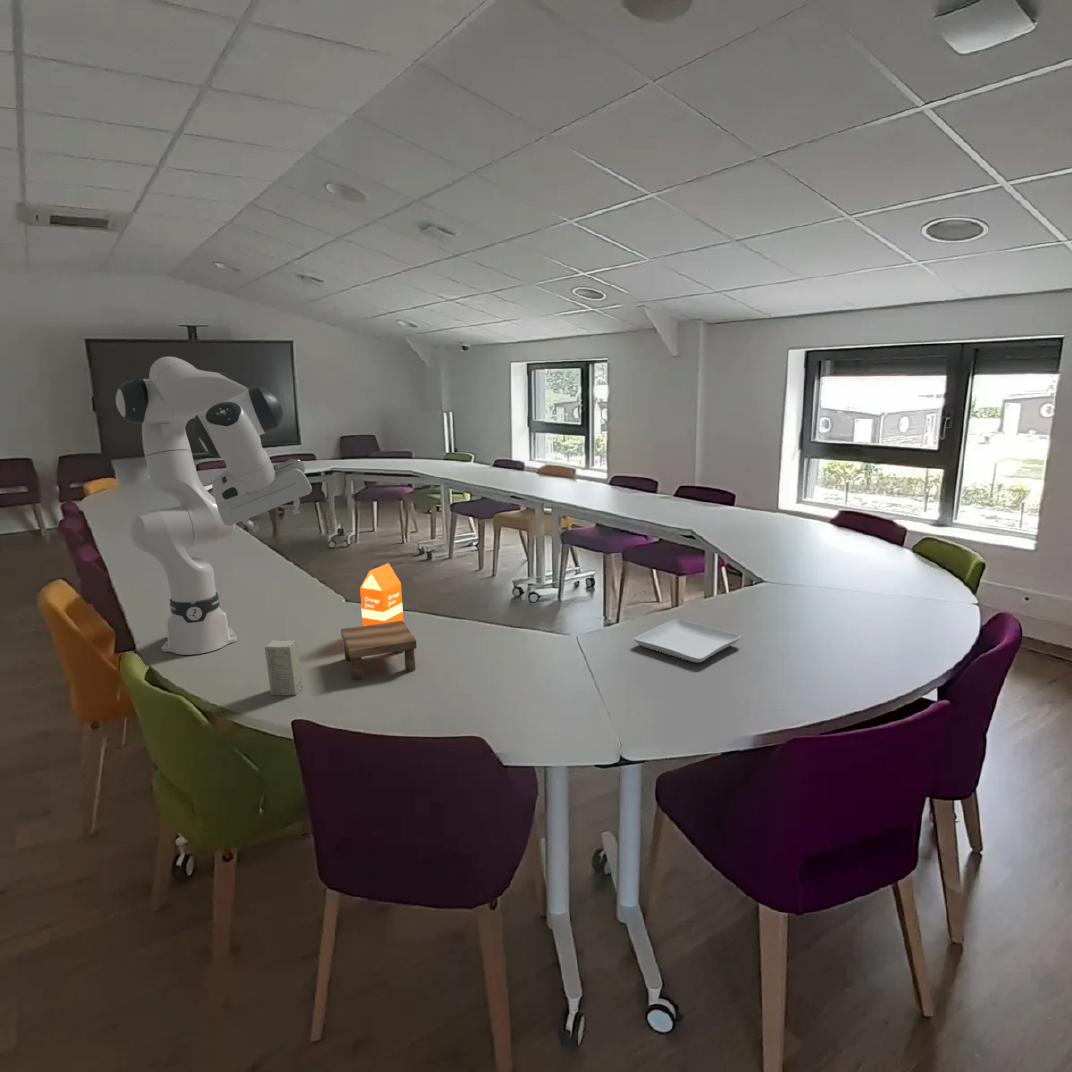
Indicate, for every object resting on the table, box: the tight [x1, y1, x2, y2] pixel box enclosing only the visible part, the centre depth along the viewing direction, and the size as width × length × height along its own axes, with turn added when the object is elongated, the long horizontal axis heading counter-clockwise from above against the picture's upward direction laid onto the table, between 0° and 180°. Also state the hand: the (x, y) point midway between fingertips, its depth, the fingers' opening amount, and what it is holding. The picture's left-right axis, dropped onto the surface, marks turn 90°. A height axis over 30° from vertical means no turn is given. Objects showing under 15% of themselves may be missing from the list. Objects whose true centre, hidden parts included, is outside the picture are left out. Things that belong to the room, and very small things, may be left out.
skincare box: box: [264, 639, 303, 696], centre depth 164 cm, size 6×4×12 cm
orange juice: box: [359, 562, 404, 626], centre depth 199 cm, size 8×9×20 cm
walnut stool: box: [340, 620, 417, 682], centre depth 179 cm, size 16×16×8 cm
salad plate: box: [633, 618, 742, 664], centre depth 189 cm, size 21×21×3 cm
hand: (276, 521), depth 162 cm, fingers open, 8 cm apart
